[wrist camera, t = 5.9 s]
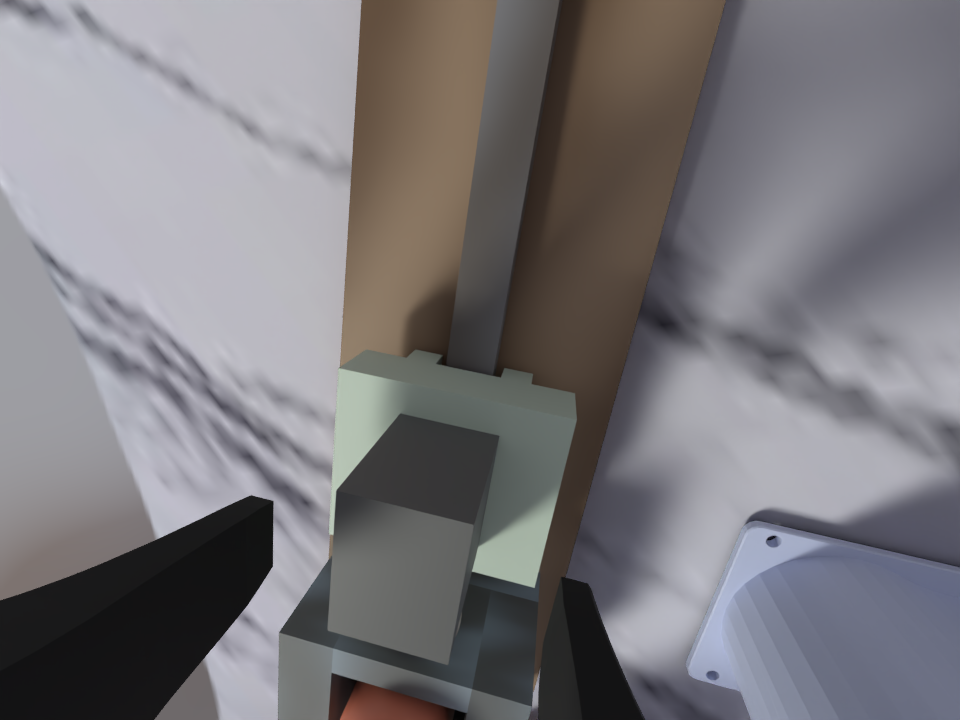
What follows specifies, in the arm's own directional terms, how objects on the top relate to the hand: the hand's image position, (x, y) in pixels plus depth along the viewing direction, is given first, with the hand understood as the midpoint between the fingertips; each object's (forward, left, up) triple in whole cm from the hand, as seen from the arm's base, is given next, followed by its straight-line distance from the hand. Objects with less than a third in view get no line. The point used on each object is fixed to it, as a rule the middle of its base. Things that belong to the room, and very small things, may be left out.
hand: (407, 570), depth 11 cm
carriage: (0, 0, -6) cm, 6 cm away
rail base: (0, -3, -8) cm, 8 cm away
